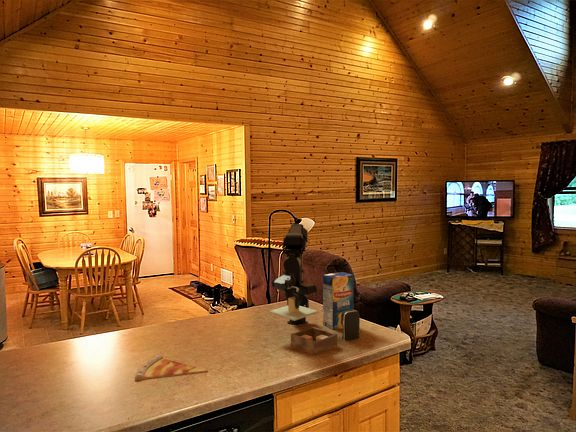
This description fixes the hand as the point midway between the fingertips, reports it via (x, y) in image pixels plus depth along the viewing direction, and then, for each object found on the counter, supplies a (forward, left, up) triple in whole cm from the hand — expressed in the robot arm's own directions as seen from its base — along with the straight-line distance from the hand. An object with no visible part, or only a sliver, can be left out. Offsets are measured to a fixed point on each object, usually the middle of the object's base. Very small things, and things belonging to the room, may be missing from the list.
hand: (293, 307), depth 167 cm
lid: (0, 0, -2) cm, 2 cm away
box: (+11, 0, -13) cm, 17 cm away
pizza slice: (-8, -50, -13) cm, 52 cm away
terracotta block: (+8, -2, -12) cm, 15 cm away
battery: (+15, +16, -13) cm, 25 cm away
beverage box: (+2, +25, -13) cm, 28 cm away
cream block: (+13, +2, -12) cm, 18 cm away
